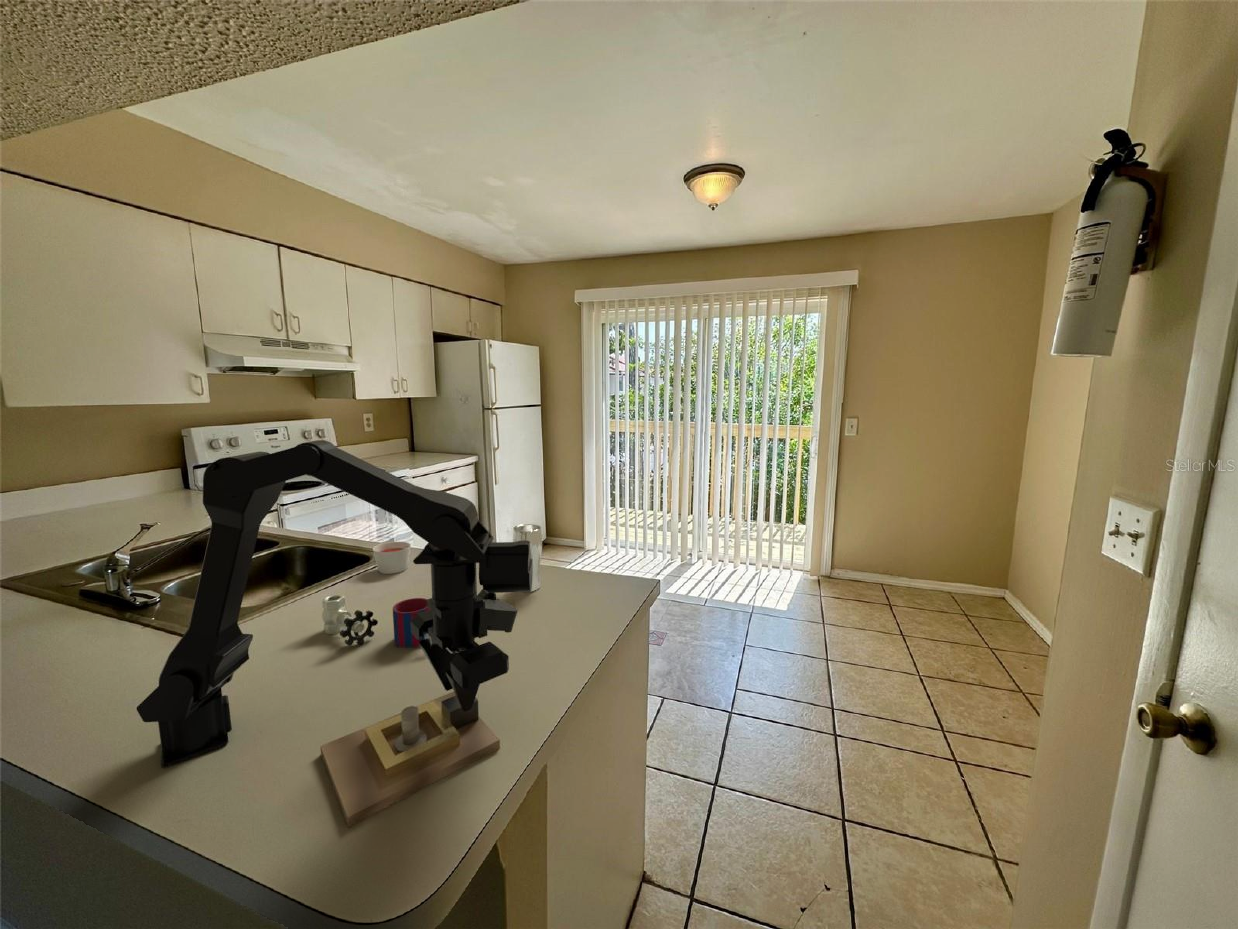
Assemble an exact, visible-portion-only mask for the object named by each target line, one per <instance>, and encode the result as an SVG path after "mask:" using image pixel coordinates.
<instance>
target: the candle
mask: <svg viewBox="0 0 1238 929" xmlns="http://www.w3.org/2000/svg"><path fill="white" fill-rule="evenodd" d="M372 552H373V555H374V559H375V563H376V567H377V570H378V572H379V573H381V574H384V575H392V574H398V573H401V572H404V571H405V570H407V569H408V565H409V558H410V552H411V543H410V542H406V541H388V542H383V543H379V544H377V545H375V546H374V547H373V548H372Z"/></svg>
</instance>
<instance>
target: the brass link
mask: <svg viewBox="0 0 1238 929" xmlns="http://www.w3.org/2000/svg"><path fill="white" fill-rule="evenodd" d="M426 703H427V702H426ZM421 705H422V704H421ZM416 707H417V706H416ZM417 708H418V720H419V724H420V723H422V722H425V721H428V722H429V724H430V725H431V726H432V728H433V729H434V730H435V732H436V733H437V735H438V736H437V737H435V738H433V739H431V740H428V741H426V742H424V743H422V744H420V745H418V746H415V747H413V748H411V749H409V750H407V751H404V752H402V753H400V754H398V755H396V756H395V755H394V753H393V751H392V749H391V748H390V746H389V744H388V742H387V741H386V739H385V738H388V737H390V736H392V735H394V734H397V733H399V732H401V731H402V719H401V714H400V713H399V714H400V715H398V716H395V715H394V716H395V717H393V718H391V719H388V720H386V721H383V720H382V721H383V722H381V723H378V722H377V723H378V724H376V725H373V724H372V725H373V726H371V727H369V728H366V727H365V728H366V729H365V739H366V741H367V743H368V745H369V747H370V749H371V751H372V753H373V755H374V757H375V759H376V761H377V763H378V765H379V767H380V769H381V771H382V773H383V775H384V777H385V779H386V781H387V780H389V779H391V778H393V777H395V776H397V775H399V774H401V773H403V772H405V771H407V770H409V769H411V768H413V767H415V766H418V765H420V764H422V763H424V762H426V761H428V760H430V759H432V758H434V757H436V756H438V755H440V754H442V753H444V752H446V751H448V750H450V749H452V748H454V747H457V746H459V745H460V734H459V733H458V731H457V729H460V728H462V727H464V726H466V725H468V724H470V723H472V722H475V721H477V720H479V717H480V716H479V700H478V698H477V696H476V697H475V700H474V703H473V706H472V708H471V709H470V710H468V711H463V709H462V707H461V705H460V703H459V701H458V699H457V696H453V697H451V698H448V699H446V700H443V701H441V708H442V711H441V710H440V709H439V707H438V706H437V705H436V704H435V702H434V701H432V702H430V703H427V704H425V705H422V706H420V707H417Z"/></svg>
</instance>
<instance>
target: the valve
mask: <svg viewBox="0 0 1238 929" xmlns="http://www.w3.org/2000/svg"><path fill="white" fill-rule="evenodd" d="M345 599H346V598H345V596H344V595H342V594H331V595H328V596H326V597H324V598H323V599H322V601H321V604H322V609H323V610H322V613H321V619H322V621H323V631H324V632H325V633H326V634H328V635H333V634H339V636H340V637H342V638H348V639H345V640H344V644H345V645H347V646H348V647H349V646H352V645H354V642H355V641H356V642H355V644H357V645H358V646H362V645H364V643H365V638H366V637H368V638H372V637H374V636H375V631H373V630H372V628H373V627H375V626H377V625H378V623H379V621H378V620H377V619H376V618H372V617H373V616H374V612H373V611H371V610H366V611H365V613H366V614H365V615H364V613H363V611H361V610H359V609H357V610H355V611H354V613H353V615H354V616H355V617H353V616H352V613H351V612H350V611H347V607H346V606H345V605H346V600H345ZM364 621H366V623H367V627H366V630H365V624H364V623H363V622H364ZM363 631H364V632H363ZM352 632H353V634H352ZM359 633H362V634H359Z"/></svg>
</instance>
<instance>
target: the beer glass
mask: <svg viewBox="0 0 1238 929" xmlns="http://www.w3.org/2000/svg"><path fill="white" fill-rule="evenodd" d="M542 536H543V535H542V527H541V525H538V524H533V523H527V524H518V525H516V526H514V527H513V531H512V542H517V541H530V550H531V559H533V576H532V589H531V592H530V593H533V592H536V591H538V590H540V589H541V580H540V576H539V573H540V572H539V571H540V565H541V559H542V552H543V537H542ZM537 589H538V590H537ZM535 590H536V591H535ZM532 591H533V592H532Z"/></svg>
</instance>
